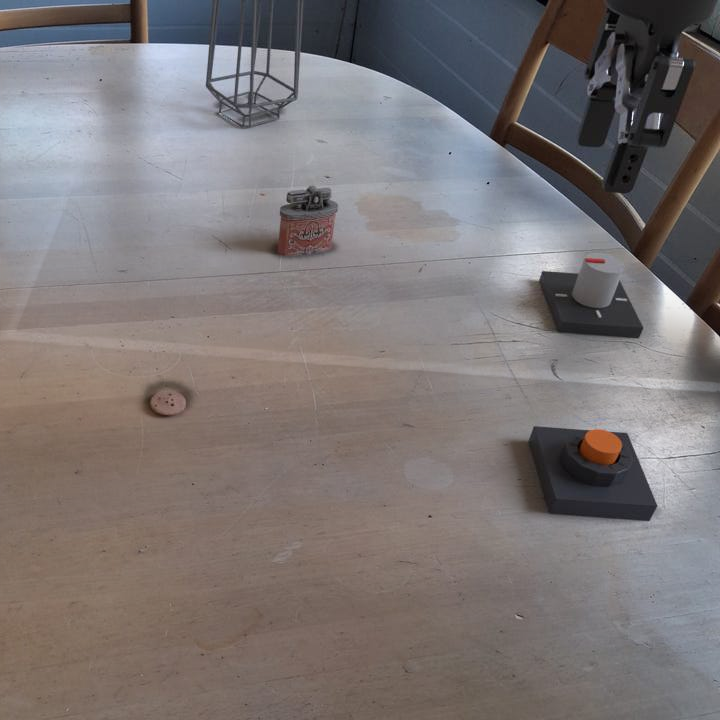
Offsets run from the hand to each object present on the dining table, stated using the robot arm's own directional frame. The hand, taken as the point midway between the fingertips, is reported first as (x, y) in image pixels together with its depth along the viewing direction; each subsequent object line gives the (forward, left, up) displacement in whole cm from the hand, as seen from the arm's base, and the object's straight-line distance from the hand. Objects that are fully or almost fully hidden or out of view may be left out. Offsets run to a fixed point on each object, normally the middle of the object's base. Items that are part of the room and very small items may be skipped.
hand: (601, 166), depth 72 cm
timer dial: (-16, -29, -29) cm, 44 cm away
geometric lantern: (+29, -86, -32) cm, 97 cm away
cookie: (+35, -5, -32) cm, 48 cm away
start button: (-9, +2, -29) cm, 30 cm away
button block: (-9, +2, -32) cm, 33 cm away
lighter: (+20, -39, -32) cm, 55 cm away
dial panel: (-16, -29, -32) cm, 46 cm away
